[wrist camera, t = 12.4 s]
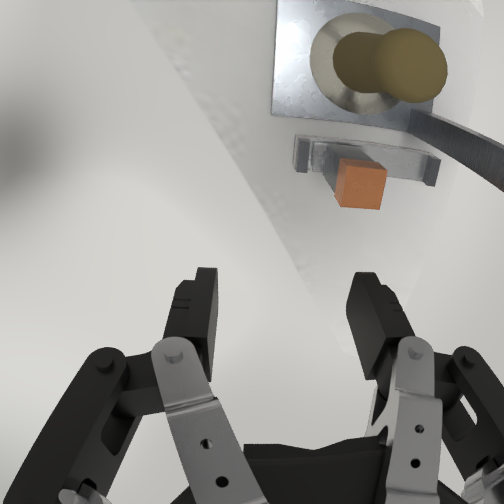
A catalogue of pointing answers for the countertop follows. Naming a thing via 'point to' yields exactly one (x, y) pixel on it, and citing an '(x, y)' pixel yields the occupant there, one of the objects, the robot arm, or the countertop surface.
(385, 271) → the countertop surface
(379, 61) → the cork
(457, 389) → the robot arm
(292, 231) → the countertop surface
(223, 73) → the countertop surface
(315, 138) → the lever rail
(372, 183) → the lever
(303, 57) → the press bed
